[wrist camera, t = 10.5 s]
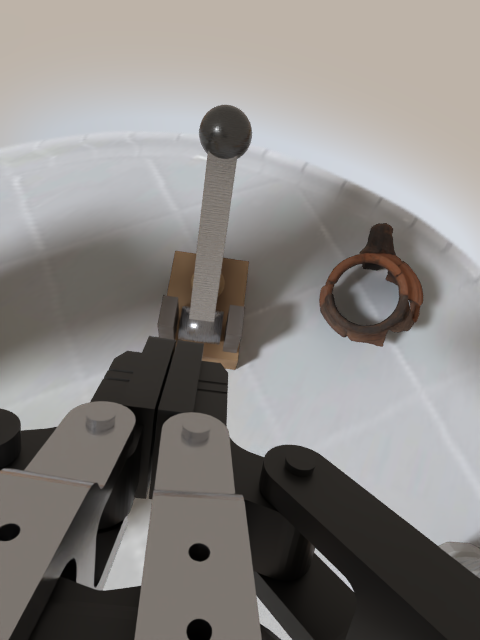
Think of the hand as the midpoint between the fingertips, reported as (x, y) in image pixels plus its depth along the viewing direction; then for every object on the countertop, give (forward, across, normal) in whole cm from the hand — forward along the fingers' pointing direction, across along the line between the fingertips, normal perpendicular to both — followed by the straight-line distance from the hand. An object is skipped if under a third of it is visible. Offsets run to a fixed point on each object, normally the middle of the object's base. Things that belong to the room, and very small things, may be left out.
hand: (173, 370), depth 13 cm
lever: (+24, 0, +10) cm, 26 cm away
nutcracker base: (+29, 0, +10) cm, 31 cm away
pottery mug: (+32, -16, +7) cm, 37 cm away
